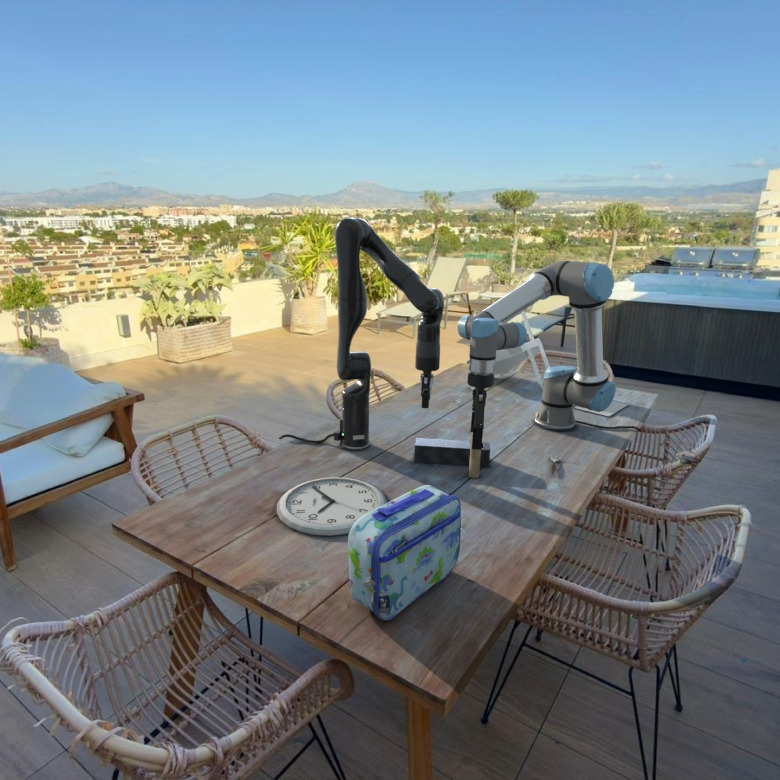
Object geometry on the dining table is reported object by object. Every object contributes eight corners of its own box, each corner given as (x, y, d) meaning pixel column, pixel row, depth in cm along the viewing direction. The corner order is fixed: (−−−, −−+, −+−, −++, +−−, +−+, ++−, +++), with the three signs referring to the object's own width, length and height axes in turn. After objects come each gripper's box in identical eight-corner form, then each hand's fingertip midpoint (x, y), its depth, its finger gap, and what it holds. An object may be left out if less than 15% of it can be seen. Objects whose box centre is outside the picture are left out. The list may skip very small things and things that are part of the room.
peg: (478, 473, 163) (481, 432, 159) (479, 478, 160) (482, 435, 155) (468, 473, 163) (471, 431, 159) (468, 477, 160) (471, 435, 156)
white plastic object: (489, 418, 267) (470, 395, 242) (471, 346, 289) (451, 318, 264) (561, 394, 254) (547, 368, 230) (535, 321, 277) (521, 289, 252)
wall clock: (392, 527, 129) (268, 531, 127) (391, 533, 130) (269, 537, 127) (383, 473, 158) (282, 475, 155) (383, 478, 158) (282, 480, 156)
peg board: (487, 458, 173) (489, 442, 172) (488, 467, 167) (490, 450, 165) (415, 454, 176) (416, 437, 174) (414, 462, 170) (414, 445, 168)
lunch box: (378, 635, 98) (379, 537, 91) (341, 606, 105) (340, 513, 99) (464, 574, 115) (470, 488, 109) (427, 553, 122) (431, 471, 116)
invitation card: (608, 416, 214) (573, 407, 224) (608, 416, 214) (573, 408, 224) (628, 404, 229) (594, 396, 238) (628, 405, 229) (594, 397, 238)
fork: (547, 475, 162) (548, 469, 162) (551, 455, 176) (551, 449, 176) (556, 476, 161) (557, 470, 161) (559, 456, 176) (560, 451, 175)
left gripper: (417, 348, 169) (415, 396, 174) (413, 358, 156) (412, 410, 160) (440, 349, 168) (438, 397, 173) (439, 360, 155) (436, 411, 160)
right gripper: (467, 361, 164) (462, 424, 170) (469, 383, 140) (463, 456, 146) (491, 362, 163) (485, 426, 169) (497, 384, 139) (490, 458, 145)
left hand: (425, 403), depth 167 cm, fingers open, 8 cm apart
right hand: (475, 440), depth 158 cm, fingers open, 13 cm apart
